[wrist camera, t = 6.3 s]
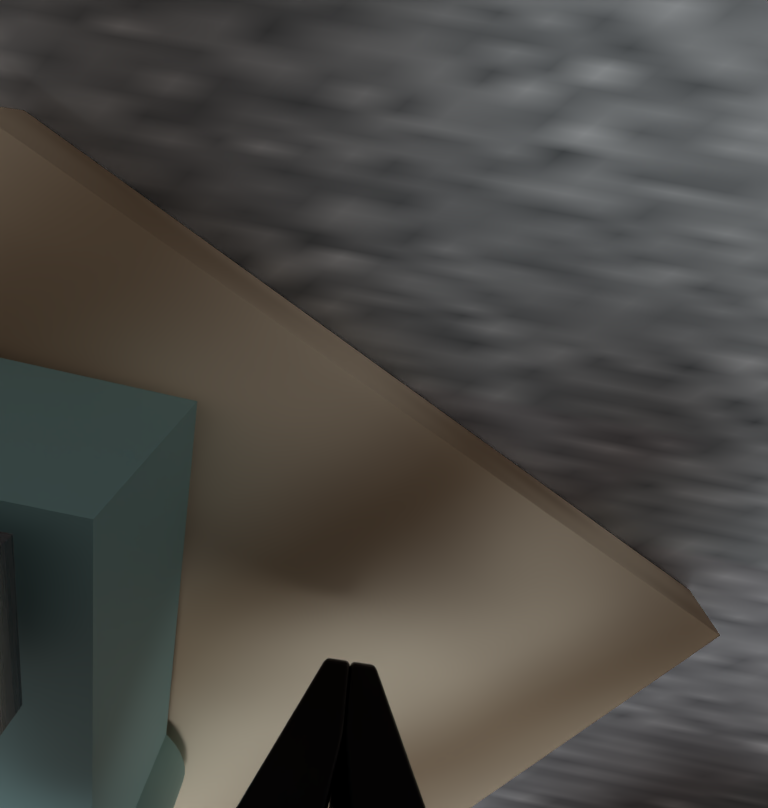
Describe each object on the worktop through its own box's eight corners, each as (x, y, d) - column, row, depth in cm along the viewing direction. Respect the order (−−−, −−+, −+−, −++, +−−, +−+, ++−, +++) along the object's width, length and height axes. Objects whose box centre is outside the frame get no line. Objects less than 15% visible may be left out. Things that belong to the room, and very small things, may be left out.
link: (178, 823, 13) (89, 1083, 9) (11, 795, 13) (-148, 1051, 9) (229, 408, 8) (88, 602, 5) (-35, 350, 8) (-410, 506, 4)
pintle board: (689, 589, 11) (987, 1029, 6) (322, 863, 16) (277, 1249, 10) (23, 110, 8) (-986, -46, 2) (-188, 637, 13) (-675, 1024, 7)
